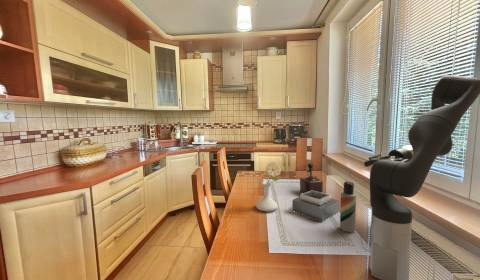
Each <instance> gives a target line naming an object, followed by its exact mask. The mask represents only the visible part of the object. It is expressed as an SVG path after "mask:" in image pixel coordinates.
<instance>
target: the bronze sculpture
mask: <svg viewBox="0 0 480 280" xmlns="http://www.w3.org/2000/svg"><path fill="white" fill-rule="evenodd" d="M307 167H308V170H307V171H306V173H309V176H306V177H301V178H299V192H300V194H302V193H306V192H308V191H311V190H313V191H317V192H321V193H323V183H324V182H323V181H322V180H320V179H319V178H318V177H317V176H316V175H315V176H313V173H312V172H313V171H314V170H313V168H314V164H313V163H312V162H311V163H308V164H307Z"/></svg>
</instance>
